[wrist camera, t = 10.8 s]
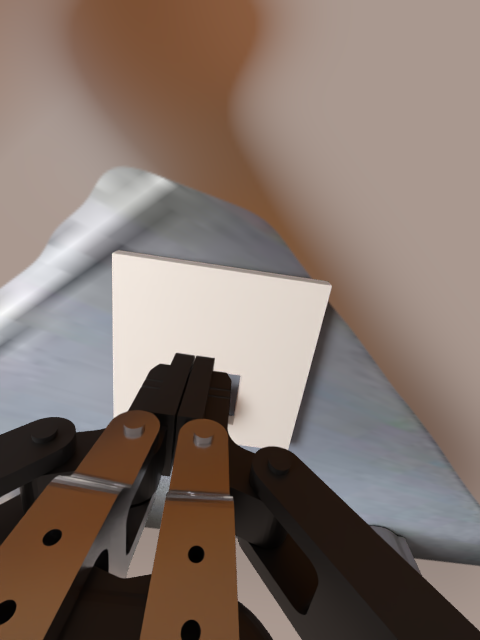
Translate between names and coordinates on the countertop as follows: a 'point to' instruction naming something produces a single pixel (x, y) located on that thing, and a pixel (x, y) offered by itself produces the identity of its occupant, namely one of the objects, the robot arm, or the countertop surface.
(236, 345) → the white square board
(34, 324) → the countertop surface
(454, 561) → the countertop surface
